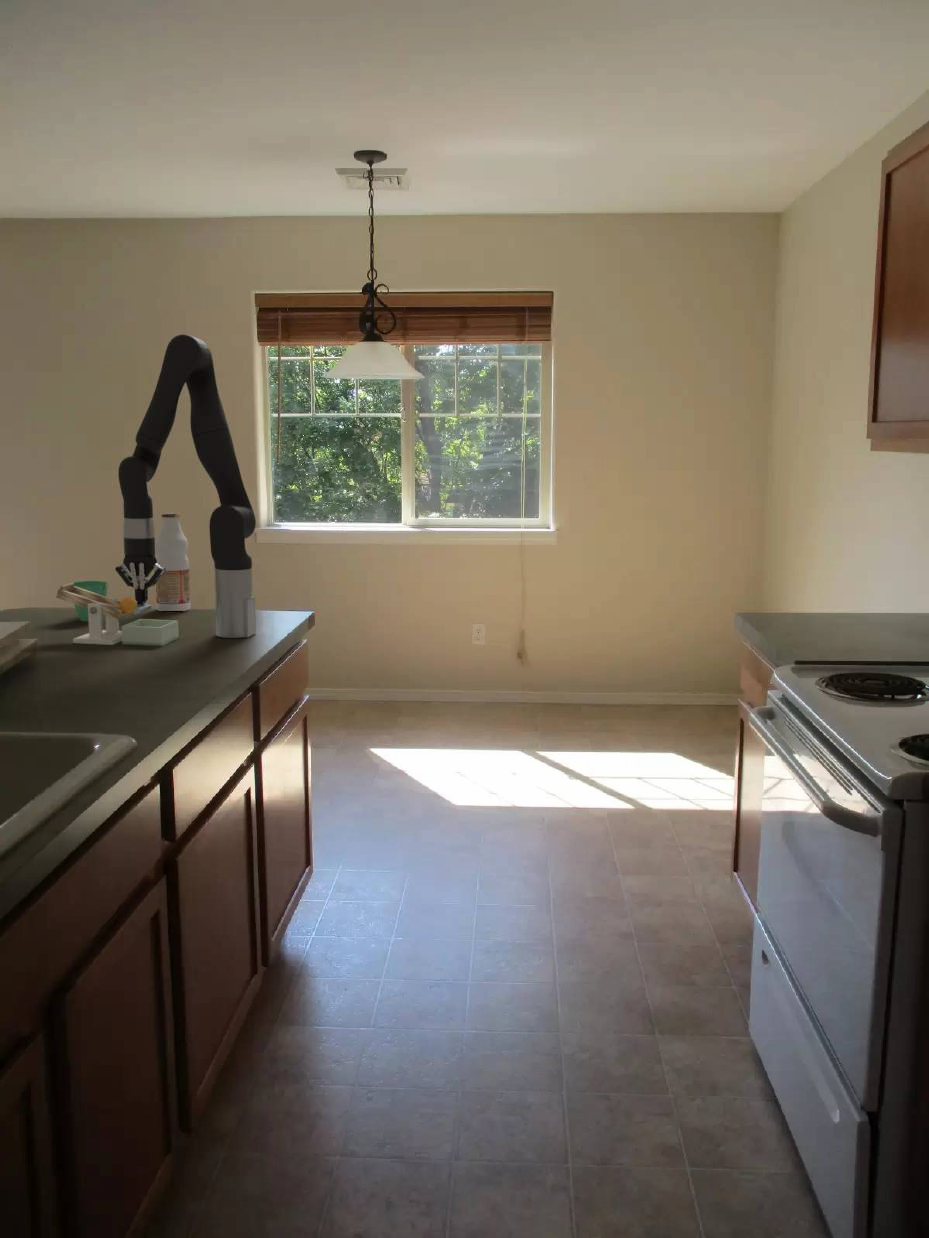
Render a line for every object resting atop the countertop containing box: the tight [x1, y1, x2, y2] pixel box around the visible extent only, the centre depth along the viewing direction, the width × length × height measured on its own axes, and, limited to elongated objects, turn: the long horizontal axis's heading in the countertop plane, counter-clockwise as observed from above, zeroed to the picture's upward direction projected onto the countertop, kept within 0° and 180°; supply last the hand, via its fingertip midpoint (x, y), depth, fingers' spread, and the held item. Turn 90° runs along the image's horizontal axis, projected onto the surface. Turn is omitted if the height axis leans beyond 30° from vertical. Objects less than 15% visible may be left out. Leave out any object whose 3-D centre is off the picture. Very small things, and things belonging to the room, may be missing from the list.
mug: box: [72, 580, 109, 622], centre depth 275 cm, size 15×10×10 cm
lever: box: [56, 582, 153, 620], centre depth 252 cm, size 17×17×3 cm
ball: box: [120, 597, 137, 614], centre depth 247 cm, size 4×4×4 cm
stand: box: [72, 597, 122, 646], centre depth 248 cm, size 10×12×10 cm
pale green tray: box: [121, 618, 180, 647], centre depth 247 cm, size 10×10×4 cm
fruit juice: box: [155, 512, 191, 612], centre depth 289 cm, size 9×9×28 cm
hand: (141, 603), depth 258 cm, fingers closed
